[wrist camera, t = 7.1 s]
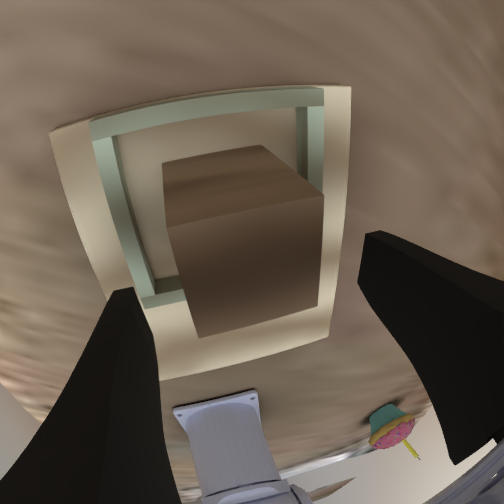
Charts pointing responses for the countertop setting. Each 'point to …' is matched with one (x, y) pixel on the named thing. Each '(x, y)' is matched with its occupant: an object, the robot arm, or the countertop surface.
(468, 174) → the countertop surface
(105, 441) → the robot arm
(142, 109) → the board
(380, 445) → the cupcake
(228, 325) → the walnut block
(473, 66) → the countertop surface
